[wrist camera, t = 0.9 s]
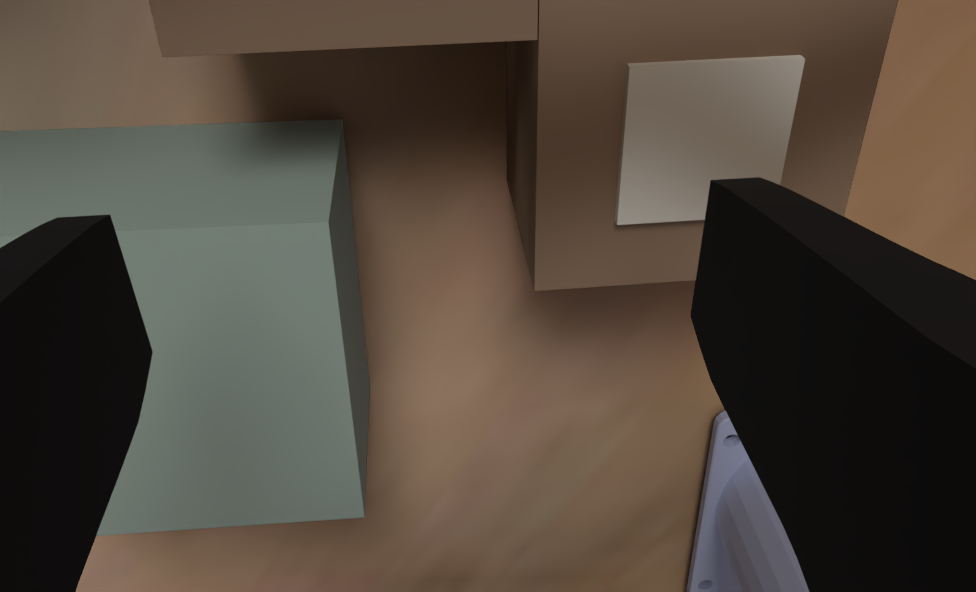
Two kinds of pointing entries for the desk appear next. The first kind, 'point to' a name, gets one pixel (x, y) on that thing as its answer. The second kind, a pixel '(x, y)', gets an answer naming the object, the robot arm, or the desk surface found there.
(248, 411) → the sage block
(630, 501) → the desk surface
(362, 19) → the walnut block
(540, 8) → the walnut block
